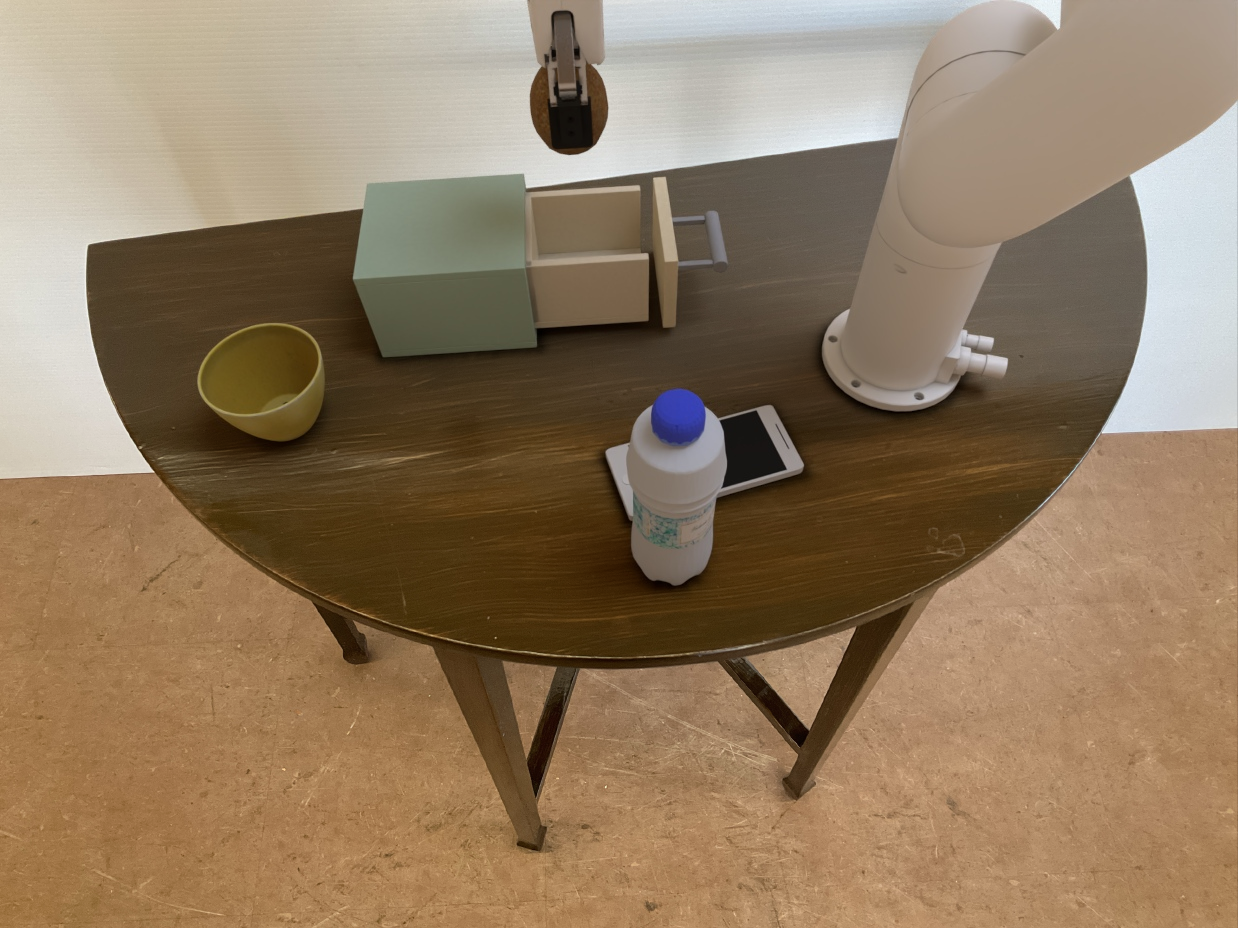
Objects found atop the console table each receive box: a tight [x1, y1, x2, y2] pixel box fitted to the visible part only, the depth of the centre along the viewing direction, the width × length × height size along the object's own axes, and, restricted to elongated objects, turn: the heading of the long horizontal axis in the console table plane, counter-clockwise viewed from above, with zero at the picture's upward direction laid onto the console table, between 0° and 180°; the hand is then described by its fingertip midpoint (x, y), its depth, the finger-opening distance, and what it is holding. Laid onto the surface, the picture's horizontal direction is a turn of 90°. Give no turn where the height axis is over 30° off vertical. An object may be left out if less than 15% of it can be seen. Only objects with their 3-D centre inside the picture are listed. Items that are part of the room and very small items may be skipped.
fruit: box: [529, 56, 609, 156], centre depth 67 cm, size 6×6×8 cm
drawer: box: [525, 176, 729, 329], centre depth 80 cm, size 18×11×8 cm, turn 94°
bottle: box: [626, 388, 727, 586], centre depth 60 cm, size 7×7×20 cm
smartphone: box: [605, 404, 805, 522], centre depth 73 cm, size 7×16×1 cm, turn 108°
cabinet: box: [352, 173, 538, 358], centre depth 80 cm, size 15×13×10 cm
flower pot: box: [197, 322, 326, 442], centre depth 74 cm, size 10×10×7 cm
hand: (570, 117), depth 68 cm, fingers closed on fruit, 6 cm apart
